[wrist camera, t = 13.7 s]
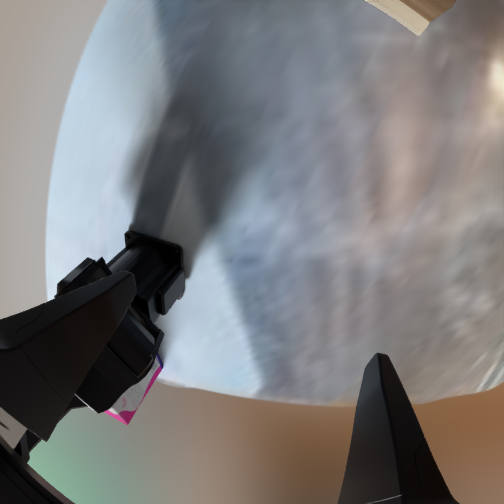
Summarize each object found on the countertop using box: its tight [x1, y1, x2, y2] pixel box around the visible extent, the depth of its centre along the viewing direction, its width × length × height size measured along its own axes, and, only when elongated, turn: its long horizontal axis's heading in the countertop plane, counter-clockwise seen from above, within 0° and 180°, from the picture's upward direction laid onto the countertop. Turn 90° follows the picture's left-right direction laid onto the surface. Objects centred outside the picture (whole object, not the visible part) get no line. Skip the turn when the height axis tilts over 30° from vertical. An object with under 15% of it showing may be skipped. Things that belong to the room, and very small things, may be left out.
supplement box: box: [104, 353, 163, 425], centre depth 33 cm, size 6×6×11 cm
